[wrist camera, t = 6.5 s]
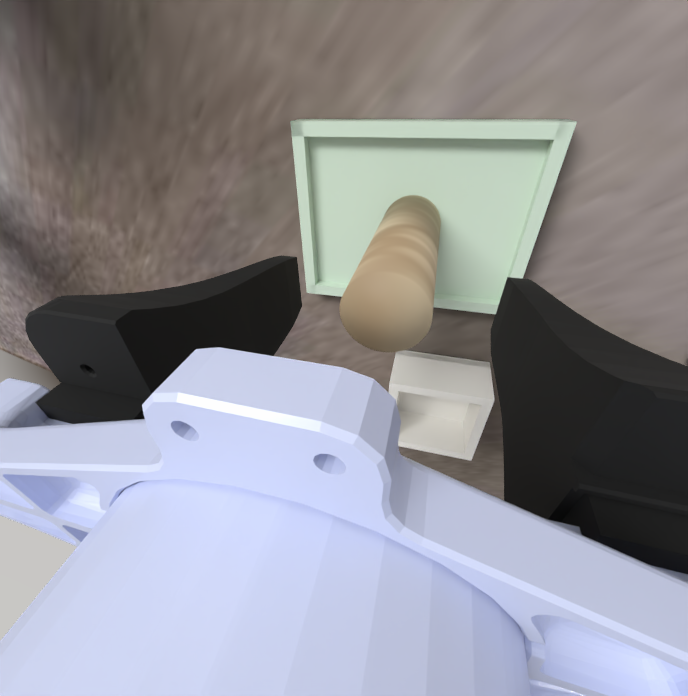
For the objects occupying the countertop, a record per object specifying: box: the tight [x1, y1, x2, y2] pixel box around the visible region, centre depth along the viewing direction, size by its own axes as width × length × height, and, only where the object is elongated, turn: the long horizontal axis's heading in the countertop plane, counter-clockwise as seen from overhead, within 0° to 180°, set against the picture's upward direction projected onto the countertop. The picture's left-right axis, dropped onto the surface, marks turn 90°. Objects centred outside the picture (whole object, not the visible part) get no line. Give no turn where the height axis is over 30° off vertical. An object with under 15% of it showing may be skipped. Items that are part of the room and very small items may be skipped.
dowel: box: [340, 195, 441, 352], centre depth 14 cm, size 3×3×9 cm
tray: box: [291, 119, 577, 314], centre depth 17 cm, size 12×9×1 cm
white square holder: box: [389, 350, 495, 461], centre depth 23 cm, size 6×6×4 cm
